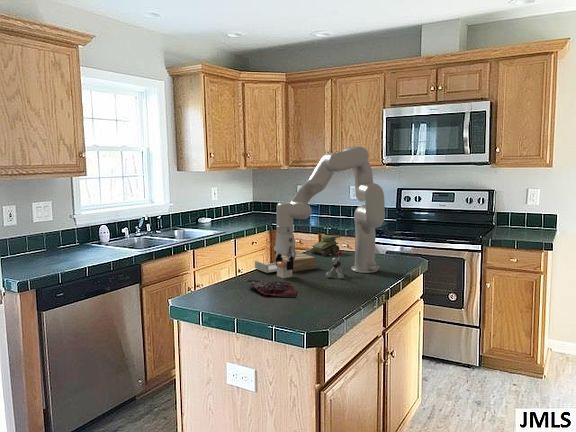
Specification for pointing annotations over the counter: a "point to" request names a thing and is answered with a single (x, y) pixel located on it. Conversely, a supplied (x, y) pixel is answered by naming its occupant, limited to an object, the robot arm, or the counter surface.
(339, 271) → the molecular model
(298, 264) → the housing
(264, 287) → the fabric swatch
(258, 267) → the tray
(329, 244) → the toy
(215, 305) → the counter surface
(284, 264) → the peach dome
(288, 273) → the block
